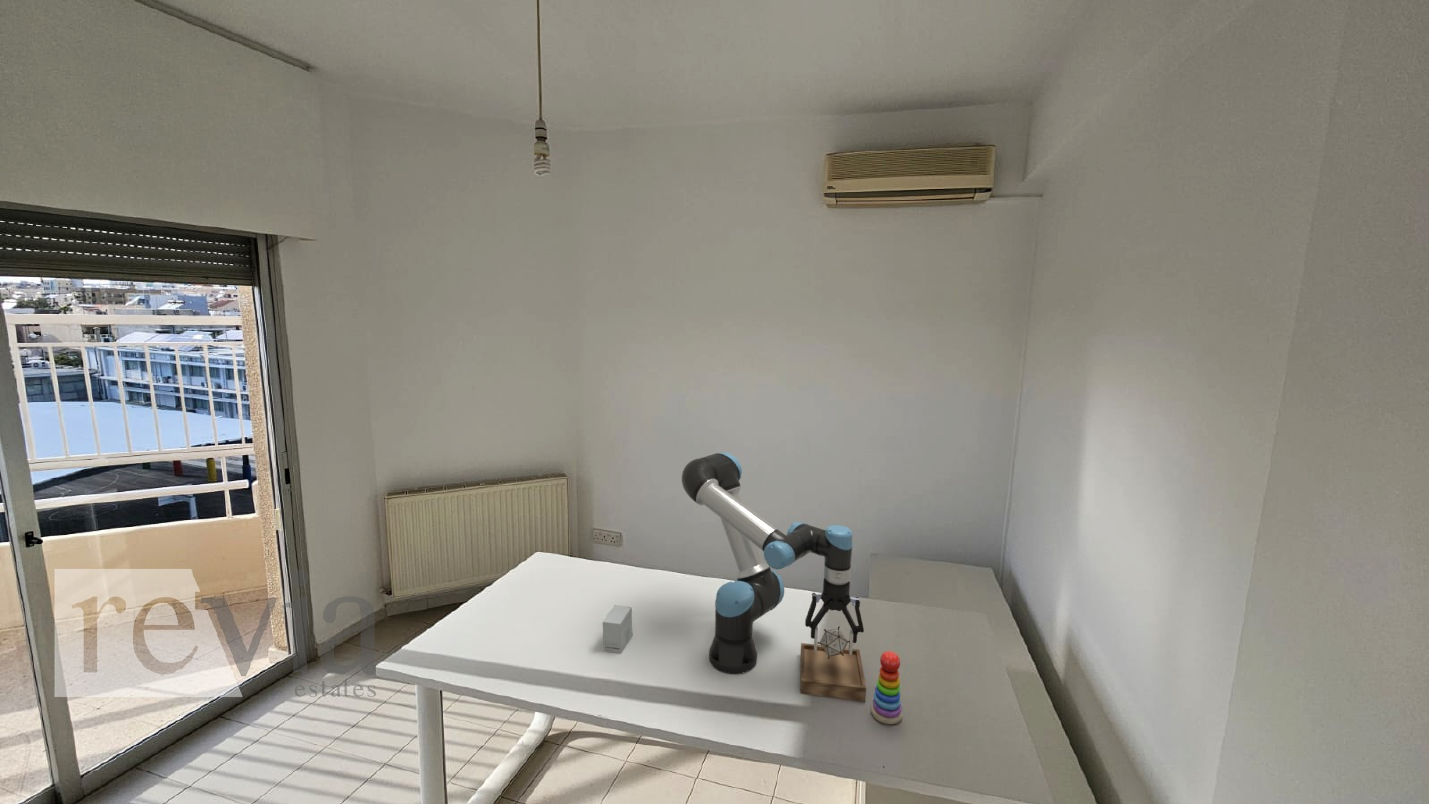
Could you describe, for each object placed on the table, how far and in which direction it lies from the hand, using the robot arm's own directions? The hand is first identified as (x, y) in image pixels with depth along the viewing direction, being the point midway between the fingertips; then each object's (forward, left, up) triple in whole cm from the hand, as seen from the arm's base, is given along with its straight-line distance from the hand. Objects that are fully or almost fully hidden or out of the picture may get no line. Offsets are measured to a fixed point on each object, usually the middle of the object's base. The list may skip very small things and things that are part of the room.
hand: (832, 649), depth 160 cm
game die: (0, 0, -2) cm, 2 cm away
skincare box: (-68, +4, -9) cm, 69 cm away
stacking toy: (+14, -13, -9) cm, 21 cm away
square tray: (0, 0, -9) cm, 9 cm away
